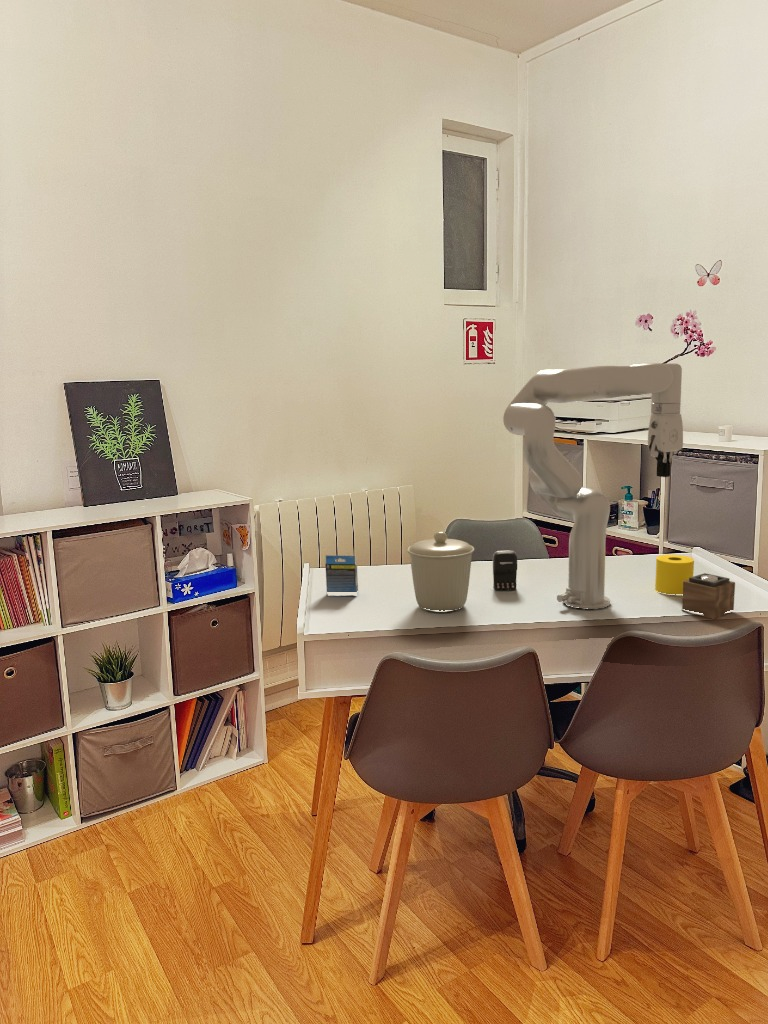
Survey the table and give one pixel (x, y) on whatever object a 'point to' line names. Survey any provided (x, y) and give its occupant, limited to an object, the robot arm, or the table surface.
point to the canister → (441, 572)
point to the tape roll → (673, 573)
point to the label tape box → (341, 574)
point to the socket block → (708, 596)
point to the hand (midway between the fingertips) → (663, 476)
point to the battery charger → (504, 570)
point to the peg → (709, 578)
